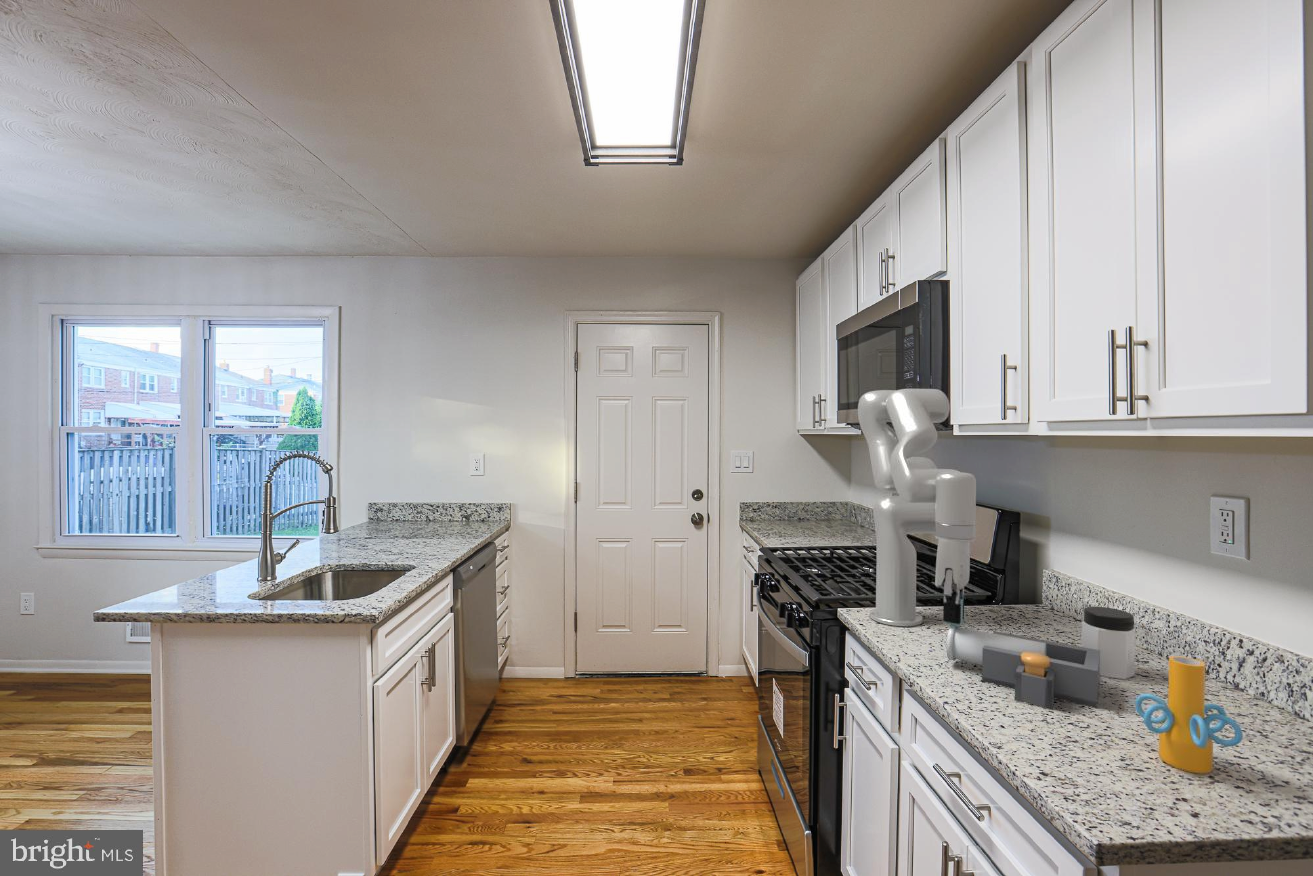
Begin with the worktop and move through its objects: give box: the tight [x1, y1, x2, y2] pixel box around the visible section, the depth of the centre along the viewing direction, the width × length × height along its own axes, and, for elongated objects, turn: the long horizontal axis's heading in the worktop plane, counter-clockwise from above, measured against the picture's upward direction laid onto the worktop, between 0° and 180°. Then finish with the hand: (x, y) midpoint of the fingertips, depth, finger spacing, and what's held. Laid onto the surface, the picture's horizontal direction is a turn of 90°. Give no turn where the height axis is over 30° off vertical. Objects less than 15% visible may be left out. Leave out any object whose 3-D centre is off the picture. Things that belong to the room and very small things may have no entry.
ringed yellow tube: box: [1134, 655, 1244, 774], centre depth 90 cm, size 12×10×15 cm
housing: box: [981, 630, 1101, 710], centre depth 116 cm, size 19×18×6 cm
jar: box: [1080, 606, 1137, 681], centre depth 125 cm, size 9×8×12 cm
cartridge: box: [943, 598, 1046, 665], centre depth 123 cm, size 7×18×13 cm, turn 52°
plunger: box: [1021, 652, 1050, 677], centre depth 111 cm, size 4×4×7 cm
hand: (953, 619), depth 128 cm, fingers closed on cartridge, 2 cm apart
